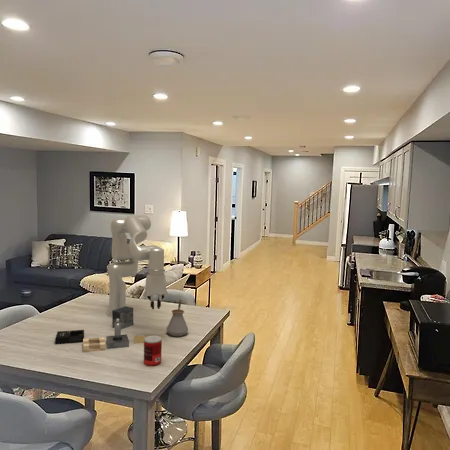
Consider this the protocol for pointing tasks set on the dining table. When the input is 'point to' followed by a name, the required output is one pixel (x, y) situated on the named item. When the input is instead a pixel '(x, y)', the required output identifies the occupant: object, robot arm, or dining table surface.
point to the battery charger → (69, 337)
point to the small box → (123, 317)
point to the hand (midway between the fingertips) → (155, 308)
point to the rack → (94, 344)
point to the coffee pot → (177, 323)
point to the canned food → (152, 350)
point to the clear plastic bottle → (117, 330)
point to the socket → (117, 342)
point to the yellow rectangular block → (139, 339)
